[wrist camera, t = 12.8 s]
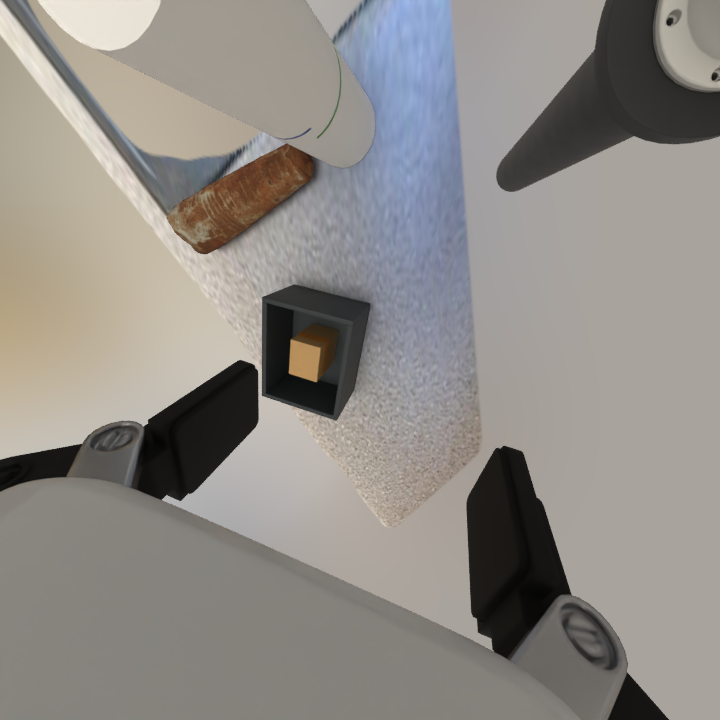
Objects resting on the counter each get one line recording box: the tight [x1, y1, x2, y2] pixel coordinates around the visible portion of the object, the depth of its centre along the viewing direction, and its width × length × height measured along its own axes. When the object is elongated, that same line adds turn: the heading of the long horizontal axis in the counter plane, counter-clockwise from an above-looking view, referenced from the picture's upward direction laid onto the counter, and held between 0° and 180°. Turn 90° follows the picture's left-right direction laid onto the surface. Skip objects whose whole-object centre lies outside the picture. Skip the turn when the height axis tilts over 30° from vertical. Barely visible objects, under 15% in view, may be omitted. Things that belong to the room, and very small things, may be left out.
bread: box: [167, 143, 314, 254], centre depth 34 cm, size 6×19×6 cm, turn 112°
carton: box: [289, 324, 339, 382], centre depth 38 cm, size 5×4×6 cm
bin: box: [262, 285, 370, 420], centre depth 38 cm, size 14×11×8 cm
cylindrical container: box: [38, 0, 376, 168], centre depth 19 cm, size 7×7×25 cm
